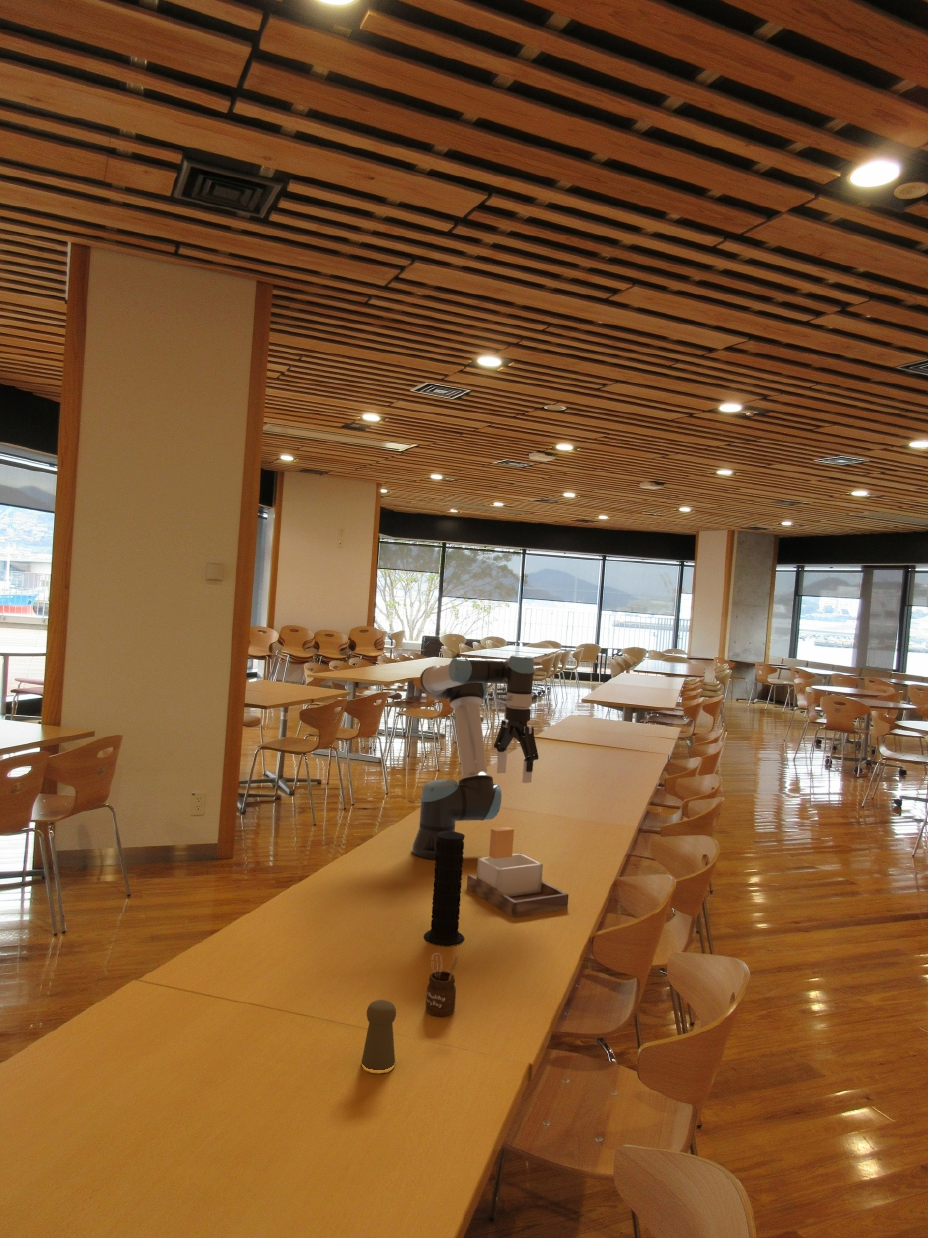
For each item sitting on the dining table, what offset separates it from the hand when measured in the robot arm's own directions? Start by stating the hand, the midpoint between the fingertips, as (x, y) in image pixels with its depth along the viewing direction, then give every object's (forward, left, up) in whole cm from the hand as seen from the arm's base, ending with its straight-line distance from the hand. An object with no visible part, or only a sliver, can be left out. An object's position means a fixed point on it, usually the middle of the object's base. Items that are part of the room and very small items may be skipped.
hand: (513, 777), depth 258 cm
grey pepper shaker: (+77, -79, -31) cm, 115 cm away
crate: (+11, -7, -29) cm, 32 cm away
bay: (+15, -7, -31) cm, 35 cm away
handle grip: (+32, -40, -31) cm, 60 cm away
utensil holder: (+64, -59, -31) cm, 92 cm away
